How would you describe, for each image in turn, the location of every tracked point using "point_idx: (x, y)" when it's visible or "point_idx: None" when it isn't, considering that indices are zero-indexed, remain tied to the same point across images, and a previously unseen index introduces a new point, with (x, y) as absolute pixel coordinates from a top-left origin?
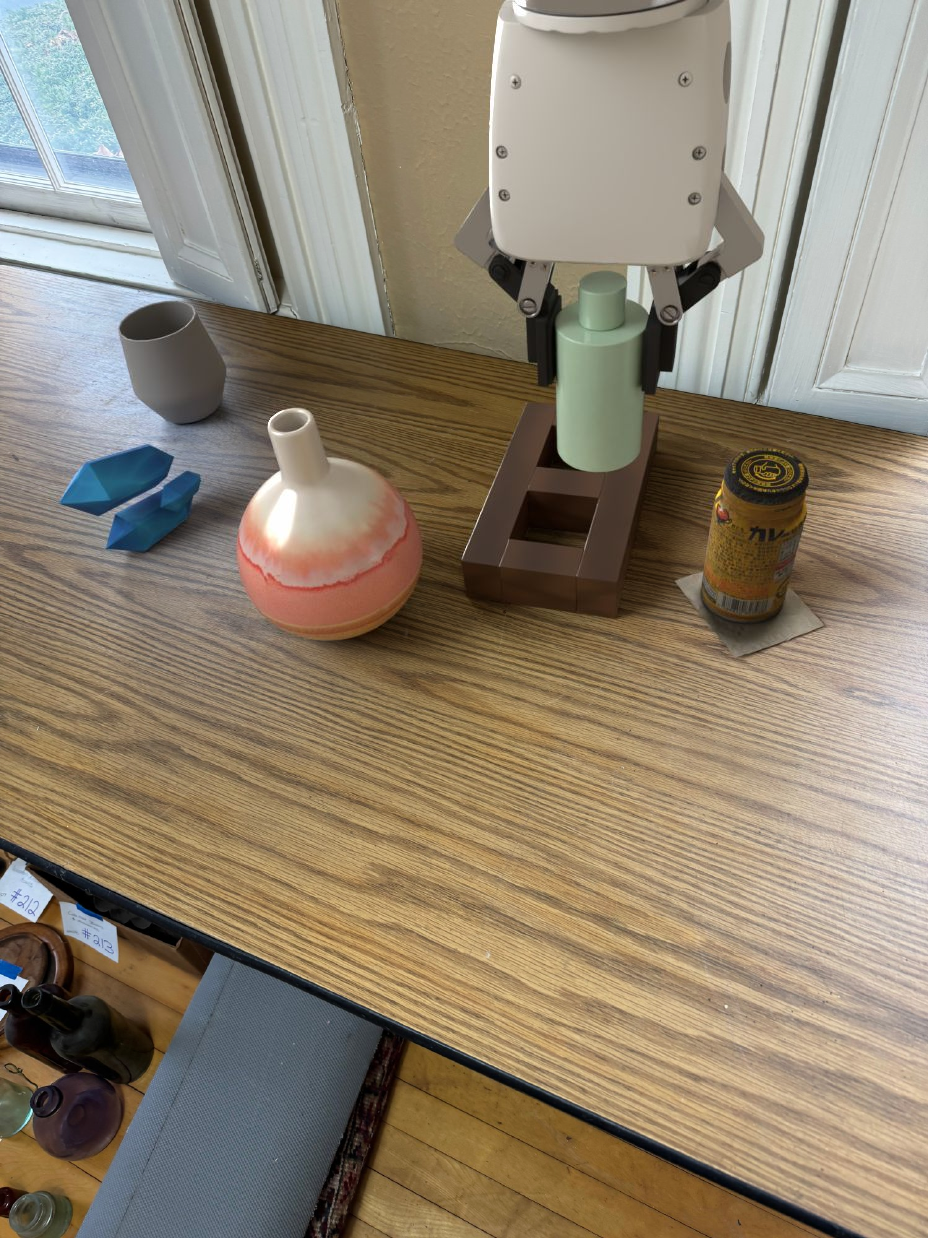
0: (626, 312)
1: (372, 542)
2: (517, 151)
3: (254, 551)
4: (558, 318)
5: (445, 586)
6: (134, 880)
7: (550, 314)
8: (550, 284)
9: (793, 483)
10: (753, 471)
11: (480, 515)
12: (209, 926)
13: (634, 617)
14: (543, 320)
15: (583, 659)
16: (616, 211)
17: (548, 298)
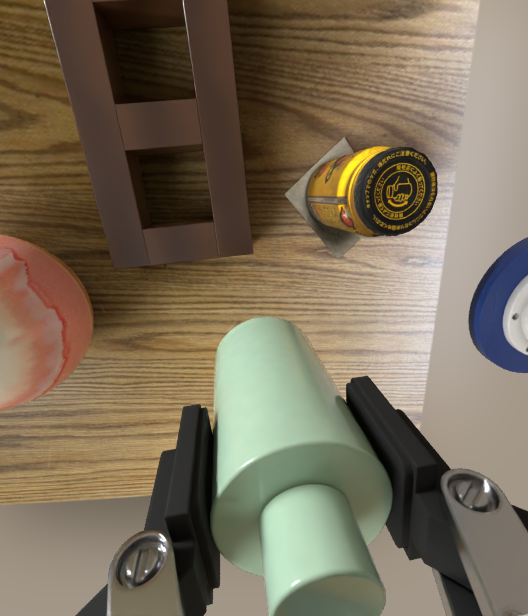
0: (347, 486)
1: (46, 364)
2: None
3: None
4: (219, 537)
5: (103, 254)
6: (65, 495)
7: (209, 574)
8: (183, 580)
9: (424, 207)
10: (386, 197)
11: (98, 205)
12: (120, 495)
13: (262, 240)
14: (207, 600)
15: (238, 289)
16: None
17: (201, 608)
